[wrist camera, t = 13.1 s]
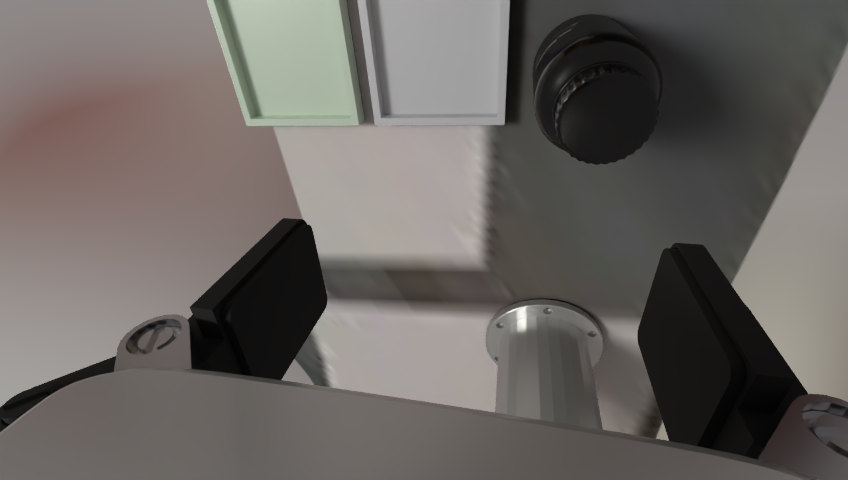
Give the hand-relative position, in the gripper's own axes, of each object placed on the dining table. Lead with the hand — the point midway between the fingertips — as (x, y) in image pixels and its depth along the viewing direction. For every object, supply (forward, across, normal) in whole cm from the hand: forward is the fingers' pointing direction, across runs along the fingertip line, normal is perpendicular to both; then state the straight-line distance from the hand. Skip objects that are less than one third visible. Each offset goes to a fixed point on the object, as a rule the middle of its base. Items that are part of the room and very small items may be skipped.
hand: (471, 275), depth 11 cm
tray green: (+24, +17, -3) cm, 30 cm away
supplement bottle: (+25, -5, -2) cm, 25 cm away
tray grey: (+24, +5, -3) cm, 25 cm away
